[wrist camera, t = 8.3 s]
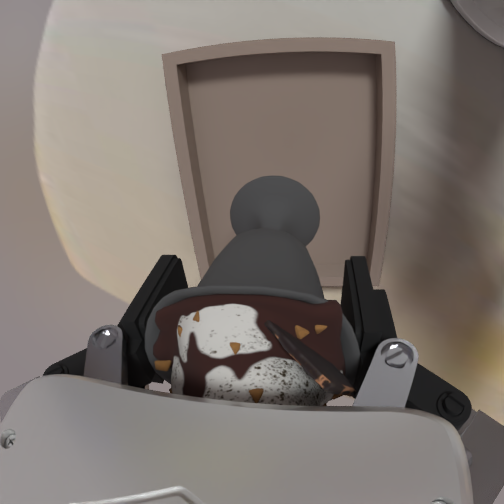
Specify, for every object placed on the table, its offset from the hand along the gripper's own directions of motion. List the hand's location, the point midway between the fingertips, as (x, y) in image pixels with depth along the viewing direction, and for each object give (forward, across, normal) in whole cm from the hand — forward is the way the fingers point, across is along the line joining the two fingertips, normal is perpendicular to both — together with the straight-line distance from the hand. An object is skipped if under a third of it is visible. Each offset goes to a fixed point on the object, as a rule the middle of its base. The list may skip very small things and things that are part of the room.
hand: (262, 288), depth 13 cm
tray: (+15, 0, 0) cm, 15 cm away
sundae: (+6, 0, 0) cm, 6 cm away
